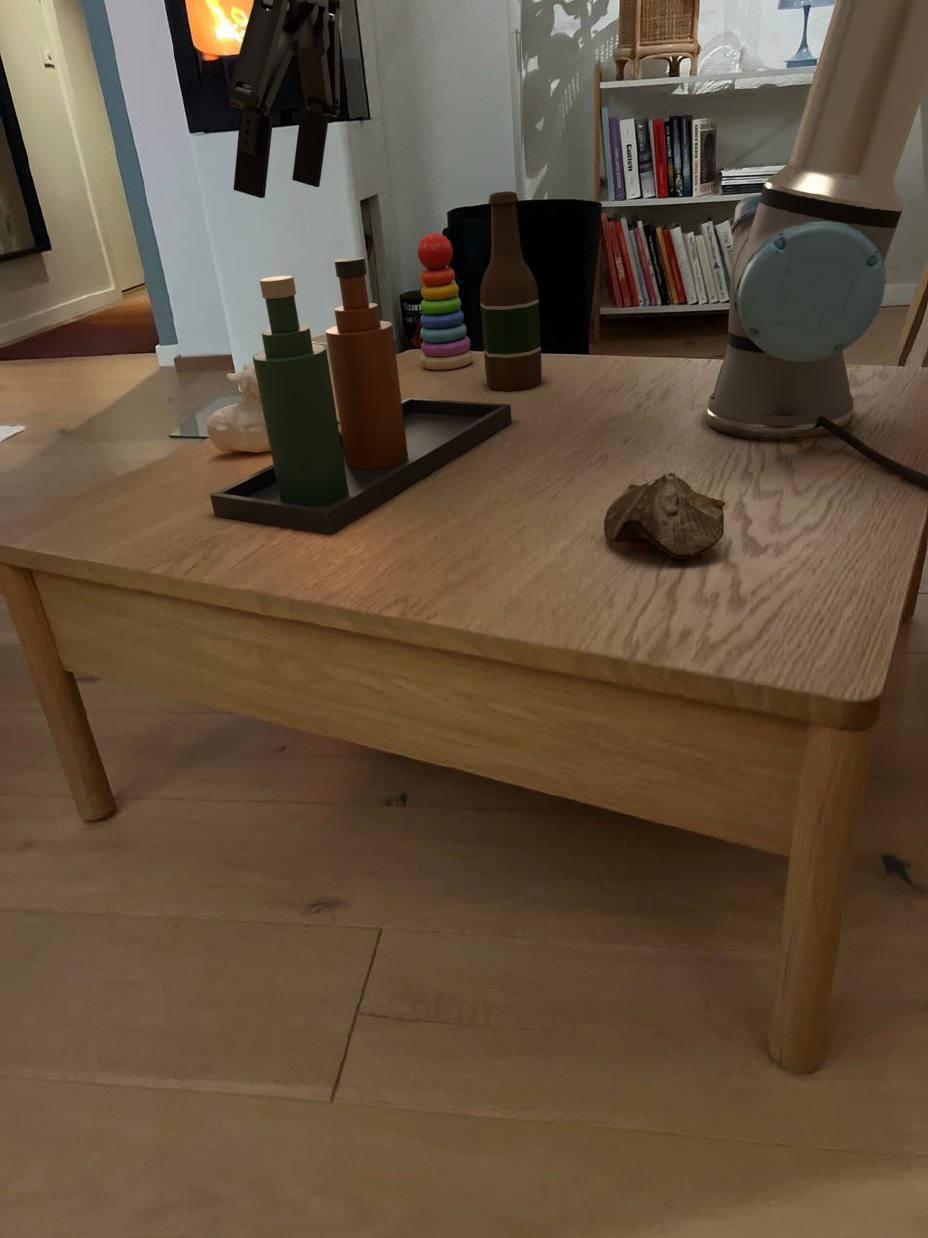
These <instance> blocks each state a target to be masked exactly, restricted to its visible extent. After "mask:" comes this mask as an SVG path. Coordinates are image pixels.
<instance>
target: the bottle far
mask: <svg viewBox="0 0 928 1238" xmlns="http://www.w3.org/2000/svg"><path fill="white" fill-rule="evenodd" d="M259 285H260V290H261V295H262V299H264V300H265V306H266V310H267V315H268V322H269V327H270V328H268V329H266V330H263V331H262V332H261V338H262V344H263V349H264V350H261V351H259V352H257V353H255V354H254V355H252V361H253V363H254V367H255V373H256V378H257V383H258V388H259V393H260V398H261V403H262V409H263V414H264V419H265V424H266V429H267V434H268V440H269V445H270V450H271V451H270V454H271V459H272V460H271V461H272V464H273V465H274V470H275V476H276V481H277V486H278V491H279V496H280V500H281V502H283V503H290V504H297V505H304V506H316V505H322V504H326V503H329V502H332V501H335V500H337V499H339V498H341V497H343V496H344V495H345V494H346V493H347V491H348V486H347V480H346V473H345V467H344V461H343V454H342V448H341V441H340V435H339V432H340V430H339V429H340V428H339V422H337V416H336V409H335V403H334V396H333V390H332V383H331V377H330V370H329V364H328V358H327V351H326V348H325V347H324V346H322V345H316V344H312V339H311V338H312V333H311V328H310V326H308V325H303V324H300V322H299V316H298V309H297V303H296V298H295V295H296V294H297V290H296V285H295V278H294V276H293V275H275V276H268V277H263V278H260V279H259Z"/></svg>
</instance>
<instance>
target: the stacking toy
mask: <svg viewBox="0 0 928 1238" xmlns="http://www.w3.org/2000/svg"><path fill="white" fill-rule="evenodd" d="M453 250H454V249H453V245H452V243H451V241H450V240H449V238H448V237H447V236H446V235H444V234H442V233H438V232H432V233H431V232H430V233H428V234H426V235H424V236H423V237H422V238H421V239H420V241H419V243H418V244H417V258H418V260H419V262H420V264H421V265H422V266H423V267H424V268H425V269H424V270H423V271H422V272H421V273H420V281H421V283H422V284H424V286H422V288H421V290H420V291H421V292H420V293H421V296H422V298H423V300H421V302H420V309H421V311H422V314H421V315H420V323H421V324H420V325H422V327H421V329H420V337H421V340H423V341H422V343H421V345H420V349H421V351H422V353H423V354H421V356H420V364H421V366H422V367H423V368H424V369H428V370H431V371H432V370H433V371H446V370H453V369H459V368H462V367H465V366H467V365H469V364H471V362H472V361H473V357H474V355H473V352H472V351H471V350H470V347H471V344H472V343H471V339H470V338H469V336H467V333H468V332H467V331H468V330H467V326H466V324H464V323H463V322H464V318H465V315H464V313H463V311H462V310H461V309H460V308H461V306H462V301H461V298H460V297H459V296H457V295H458V294H459V291H460V290H459V289H460V288H459V286H458V284H457V283H456V282H454V281H455V277H456V273H455V271H454V269H453V268H452V267H450V266H448V265H449V264H450V263H451V261H452V258H453V253H454V251H453Z"/></svg>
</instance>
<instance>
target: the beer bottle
mask: <svg viewBox="0 0 928 1238" xmlns="http://www.w3.org/2000/svg"><path fill="white" fill-rule="evenodd" d="M487 202H488V204H489V205H490V223H491V224H490V231H491V233H490V235H491V237H490V238H491V253H490V262H489V264H488V266H487V268H486V270H485V272H484V273H483V275H482V279H481V283H480V290H479V295H480V297H479V299H480V300H479V301H480V302H479V304H480V305H479V306H480V314H481V315H480V316H481V317H480V319H481V331H482V332H481V333H482V342H483V345H482V346H483V357H484V371H485V378H486V379H485V380H486V383H487V386H488V387H489V388H491V389H492V391H501V392H513V391H521V390H531V389H532V388H534V387H535V386H538V385H540V384H541V383H542V371H543V370H542V367H543V366H542V347H541V346H542V345H541V343H542V342H541V325H540V321H541V320H540V303H539V302H540V301H539V292H538V284H537V282H536V279H535V276H534V274H533V272H532V270H531V269H530V267H529V266H528V264H527V263H526V262H525V260H524V256H523V251H522V247H521V237H520V229H519V219H518V210H517V203H518V202H519V198H518V195H517V192H515V191H511V190H510V191H499V192H492V193H491V194H489V198H488V201H487Z"/></svg>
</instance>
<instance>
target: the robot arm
mask: <svg viewBox="0 0 928 1238" xmlns="http://www.w3.org/2000/svg"><path fill="white" fill-rule="evenodd" d="M252 1H253V2H252V6H251V11H250V13H249V17H248V20H247V24H246V26H245V27H246V28H245V30H244V34H243V38H242V42H241V45H240V49H239V52H238V55H237V58H236V59H237V60H236V62H235V66H234V70H233V73H232V77H231V80H230V84H229V87H228V104H229V106H230V107H233V108H236V109H239V110H240V113H239V124H238V134H237V145H236V146H237V147H236V156H235V157H236V158H235V168H234V177H233V191H235V192H239V193H243V194H245V195H248V196H253V197H255V198H259V199H265V198H266V190H267V183H268V182H267V181H268V171H269V163H270V162H269V161H270V152H271V145H272V144H271V142H272V134H273V125H274V117H273V116H270V115H269V113H270V110H271V108H272V105H273V103H274V101H275V98H276V96H277V94H278V91H279V89H280V86H281V84H282V81H283V79H284V77H285V74H286V71H287V70H288V67H289V64H290V62H291V60H292V58H293V55H294V54H296V55H297V60H298V67H299V73H300V79H301V80H300V81H301V87H302V92H303V98H304V104H305V109H304V108H303V109H300V112H299V122H298V130H297V139H296V146H295V153H294V161H293V170H292V171H293V172H292V179H291V180H292V181H295V182H297V183H301V184H304V185H306V186H307V185H308V186H310V187H311V186H312V187H314V188H320V186H321V179H322V171H323V163H324V157H325V149H326V142H327V134H328V126H329V121H330V120H329V119H330V116H331V117H333V118H338V117H339V115H340V113H341V112H340V111H341V106H340V103H341V84H340V83H341V81H340V80H341V79H340V78H341V76H340V75H341V74H340V73H341V72H340V70H341V69H340V68H341V67H340V21H341V20H340V18H341V8H342V0H252ZM927 84H928V0H835V3H834V6H833V10H832V14H831V17H830V20H829V24H828V27H827V30H826V34H825V37H824V41H823V44H822V48H821V51H820V54H819V58H818V61H817V65H816V68H815V72H814V75H813V79H812V82H811V86H810V88H809V92H808V95H807V99H806V103H805V106H804V110H803V113H802V117H801V121H800V123H799V127H798V130H797V134H796V137H795V140H794V144H793V148H792V151H791V154H790V157H789V161H788V162H787V163H786V164H785V165H784V167H782V168H781V169H780V170H778V171H777V172H776V173H774V174H773V175H772V176H770V177H768V179H766V180H764V183H763V186H762V190H761V193H760V194H756V195H750V196H746V197H744V198H742V199H741V200H740V201H739V202H738V203H737V205H736V206H735V209H734V218H733V223H732V225H731V227H730V228H731V229H730V232H731V236H732V246H731V247H732V248H731V249H732V250H731V269H730V270H731V271H730V287H729V288H730V289H729V306H728V309H729V310H728V324H727V325H728V327H727V330H728V331H727V347H726V354H725V356H724V359H723V360H722V364H721V367H720V370H719V372H718V375H717V378H716V381H715V385H714V388H713V392H712V393H711V394H710V396H709V399H708V402H707V403H708V404H707V407H706V408H707V409H706V410H707V411H706V423H707V424H708V426H710V427H711V428H712V429H714V430H716V431H718V432H720V433H723V434H726V435H730V436H733V437H736V438H737V437H739V438H743V439H751V440H761V441H762V440H763V441H799V440H809V439H815V438H816V439H817V438H821V437H826V436H830V435H834V436H835V437H836V438H838V439H840V440H841V441H843V442H845V443H846V444H847V445H848V446H850V447H851V448H853V449H854V450H855V451H857V452H858V453H860V454H861V455H863V456H864V457H866V459H869V460H870V461H872V462H873V463H876V464H877V465H879V466H881V467H883V468H884V469H887V470H888V471H891V472H893V473H894V474H897V475H899V476H901V477H903V478H906V479H909V480H911V481H913V482H915V483H917V484H919V485H922V486H925V487H927V488H928V474H925V473H923V472H921V471H918V470H915V469H913V468H911V467H908V466H906V465H903V464H902V463H900V462H897V461H896V460H893V459H892V458H890V457H887V456H885V455H884V454H882V453H880V452H878V451H877V450H876V449H873V448H872V447H870V446H868V445H867V444H866V443H864V441H861V440H860V439H859V438H857V437H856V436H854V435H853V434H851V433H850V432H849V431H848V430H845V429H847V428H848V427H850V426H851V424H852V423H853V417H854V409H855V404H854V397H853V395H852V393H851V388H850V381H849V377H848V370H847V366H846V361H845V357H844V352H843V351H844V350H846V349H847V348H849V347H851V346H852V345H853V344H854V343H856V342H857V341H858V340H859V339H860V338H861V337H862V336H863V335H864V334H865V333H866V332H867V331H868V329H869V328H870V327H871V325H872V324H873V322H874V321H875V319H876V318H877V316H878V314H879V311H880V310H881V309H880V308H881V306H882V303H883V301H884V296H885V290H886V289H885V288H886V284H887V281H886V274H887V273H886V272H887V271H886V265H885V261H886V258H887V256H888V253H889V250H890V247H891V245H892V242H893V239H894V236H895V233H896V230H897V226H898V224H899V222H900V219H901V216H902V213H903V211H904V210H903V209H904V207H905V206H904V203H903V201H902V199H901V197H900V195H899V193H898V191H897V189H896V187H895V176H896V174H897V170H898V168H899V165H900V162H901V159H902V156H903V153H904V150H905V149H906V148H905V147H906V145H907V142H908V139H909V136H910V133H911V130H912V128H913V124H914V122H915V118H916V116H917V113H918V110H919V107H920V104H921V102H922V100H923V99H922V98H923V96H924V94H925V90H926V87H927Z"/></svg>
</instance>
